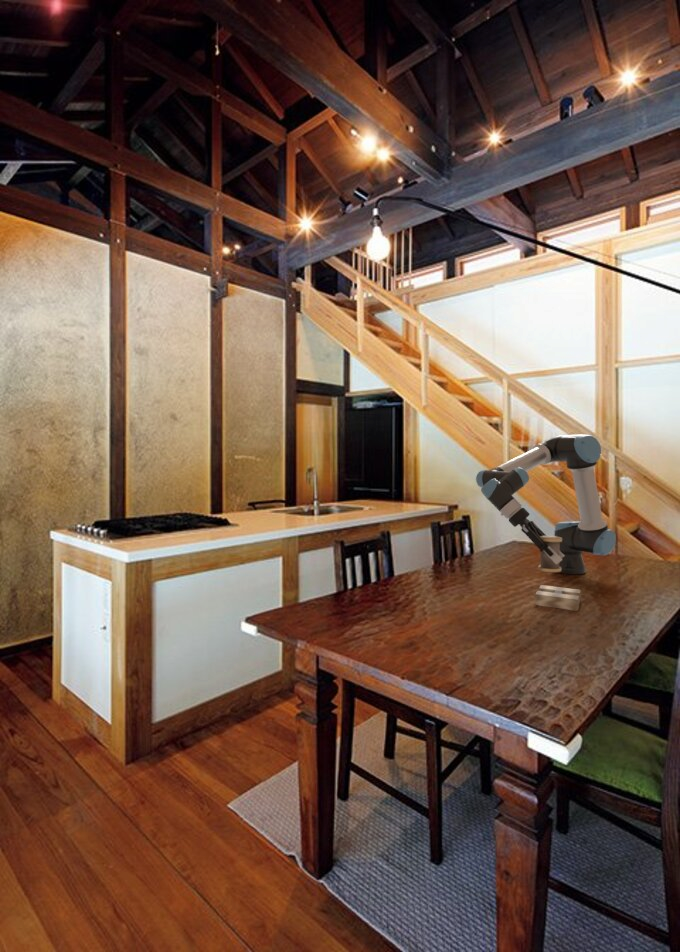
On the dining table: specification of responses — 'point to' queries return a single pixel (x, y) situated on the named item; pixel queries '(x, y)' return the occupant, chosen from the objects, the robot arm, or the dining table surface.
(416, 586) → the dining table surface
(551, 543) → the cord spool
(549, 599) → the slotted stand
